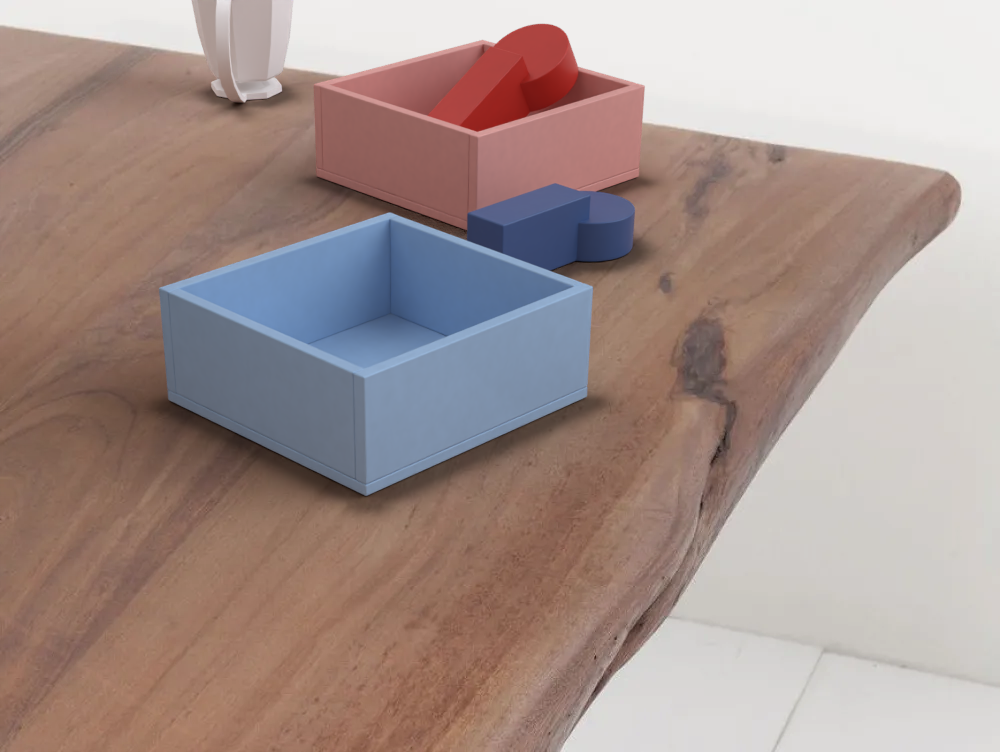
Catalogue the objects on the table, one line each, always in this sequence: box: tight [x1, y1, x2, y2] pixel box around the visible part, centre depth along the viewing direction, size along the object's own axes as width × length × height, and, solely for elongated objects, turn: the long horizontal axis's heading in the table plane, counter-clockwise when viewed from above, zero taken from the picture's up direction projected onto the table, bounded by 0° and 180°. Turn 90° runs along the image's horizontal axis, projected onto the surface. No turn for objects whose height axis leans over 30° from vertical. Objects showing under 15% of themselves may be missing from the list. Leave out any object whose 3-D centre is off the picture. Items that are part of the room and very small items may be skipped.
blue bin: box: [158, 211, 594, 497], centre depth 79 cm, size 12×13×5 cm
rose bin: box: [313, 39, 646, 231], centre depth 103 cm, size 12×13×5 cm
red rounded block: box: [427, 23, 579, 132], centre depth 103 cm, size 5×10×3 cm, turn 137°
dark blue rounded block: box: [466, 183, 636, 271], centre depth 94 cm, size 5×10×3 cm, turn 137°
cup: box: [191, 0, 294, 104], centre depth 113 cm, size 7×10×8 cm
